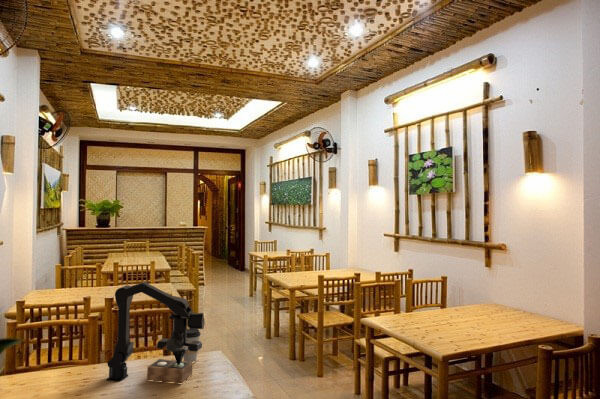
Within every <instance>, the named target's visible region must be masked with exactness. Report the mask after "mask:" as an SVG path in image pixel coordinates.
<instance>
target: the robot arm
mask: <svg viewBox="0 0 600 399" xmlns="http://www.w3.org/2000/svg"><path fill="white" fill-rule="evenodd" d="M140 293H142V294H144V295H147V297H150V298H152V299H154V300H156V301H158V302H159V303H161V304H163V305H165V306H166V307H167V308H168V309H169V310H170V311H171V312H172V313H171V315H169V316H168V319H169V320H172V321H173V322H172V323H173V327H172V328H173V329H172V332H171V335H170V338H165V337H163V338H161V339H160V340H158V341H157V342H156V343H157V344H156V349H161V350H164V348H166V351H167V352H168V351H169V352H171V353H172V354H173V356H174V358H175V359H174V360H176V362H177V365H180V363H181V361H183V360H184V357H183V356H184V354H185V352H186V351H187V350H189V351H199V350H200V349H202V348H203V343H202V341H201V340H199V341H192V342H191V343H186V342H187V341H188V339H186V336H187V332H188V329H198V330H203V329H204V328H205V322H206V319H205V315H204V314H205V313H204V312H194V311H193V309H192V308H191V307H190V304H189V302H188V300H187V299H186V298H183V297H181V296H175V295H171V294H169V293H167V292H165V291H163V290H161V289H159V288H158V287H156V286H154V285H151V284H150V283H149V282H147V281H143V282H140V283H137V284H134V285H124V286H121V287H119V288H118V289H116V291H115V292H114V298H115V303H116V306H117V308H118V313H117V314H118V315H117V316H118V317H117V341H116V343H115V346H114V350H113V356H112V357H111V359H109V360H108V362H106V364H107V367H108V377H107V378H106V381H110V382H111V381H112V382H121V381H123V380H124V379H125V377H126V378H127V377H128V376H129V373H128V366H127V365H128V364H127V361H128V359H129V358H130V357H131V356H132V355H133V352H134V351H135V349H134V344H135V342H134V341H131V339H130V312H131V310H130V308H131V304H132V301H133V299H134V295H137V294H140Z"/></svg>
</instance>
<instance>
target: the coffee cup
mask: <svg viewBox="0 0 600 399" xmlns="http://www.w3.org/2000/svg"><path fill="white" fill-rule="evenodd" d="M187 329H188V332H187V336H186V339H188V341H187V342H186V343H191V342H192V341H200V337H201V335H202V334H201V332H200V329H190V328H187ZM198 351H199V350H198ZM198 351H189V350H187V351H186V352H185V354H184V356H183V361H188V362H193V361H196V362H197V358H198Z"/></svg>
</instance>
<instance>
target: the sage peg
mask: <svg viewBox="0 0 600 399" xmlns="http://www.w3.org/2000/svg"><path fill="white" fill-rule="evenodd" d="M183 366H184V364H183V363H180V365H177V363H176V364H174V367H183Z"/></svg>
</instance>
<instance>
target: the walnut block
mask: <svg viewBox="0 0 600 399" xmlns="http://www.w3.org/2000/svg"><path fill="white" fill-rule="evenodd" d="M159 362H166V363H167V364H166V365H165V366H163V365H157V363H159ZM176 363H177V362H176V359H166V358H165V359H164V358H158V359H157V360H156V361H154V362H153V363H151V364H150V365H148V366H147V372H146V373H147V374H146V376H147V377H146V381H147V380H153V381H162V382H174V383H183V382H184V381H185V380H186V379H187V378H188V377H189V376H190V375H191V374H192V375H193V364H192V362H188V361H184V360H182V361H181V363H183V364H184V366H183V367H174V364H176ZM186 381H187V380H186ZM186 381H185V382H186ZM185 382H184V383H185ZM184 383H183V384H184Z"/></svg>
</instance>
